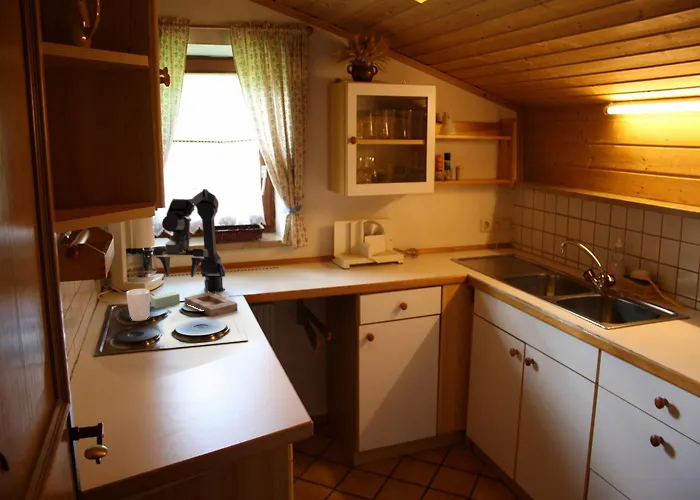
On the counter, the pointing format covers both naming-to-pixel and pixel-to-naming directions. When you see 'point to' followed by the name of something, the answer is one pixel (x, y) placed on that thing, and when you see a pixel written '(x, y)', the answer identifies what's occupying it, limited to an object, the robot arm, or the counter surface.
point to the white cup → (138, 304)
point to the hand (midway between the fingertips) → (179, 276)
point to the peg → (165, 299)
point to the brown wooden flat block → (211, 304)
